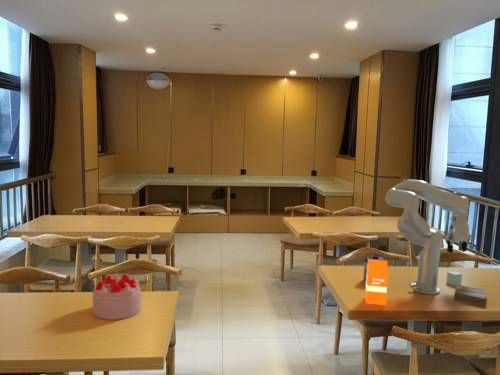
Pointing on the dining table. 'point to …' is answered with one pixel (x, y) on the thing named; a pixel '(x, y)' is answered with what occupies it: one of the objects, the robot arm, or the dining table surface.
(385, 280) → the orange juice
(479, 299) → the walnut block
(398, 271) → the dining table surface
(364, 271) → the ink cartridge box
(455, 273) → the sage block
